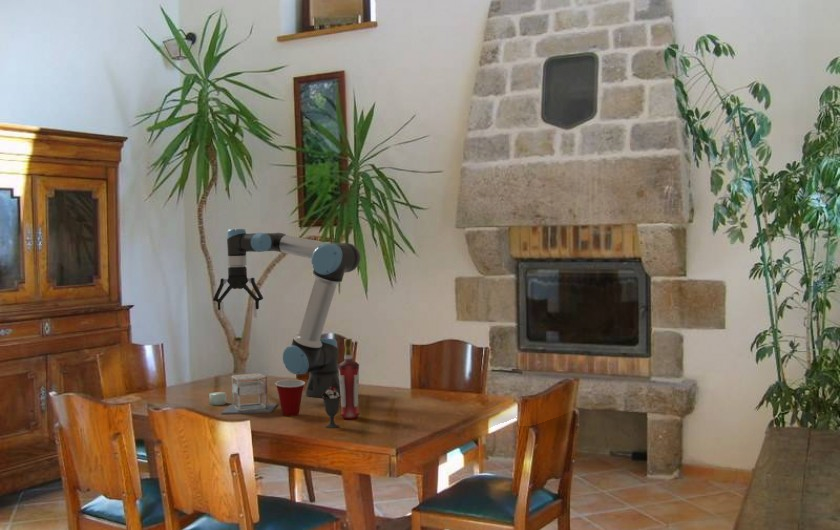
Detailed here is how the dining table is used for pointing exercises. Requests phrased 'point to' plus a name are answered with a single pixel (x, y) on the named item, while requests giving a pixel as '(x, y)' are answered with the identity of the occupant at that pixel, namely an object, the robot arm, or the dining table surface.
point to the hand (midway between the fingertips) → (238, 317)
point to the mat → (233, 411)
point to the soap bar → (217, 398)
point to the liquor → (349, 383)
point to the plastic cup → (290, 396)
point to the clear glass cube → (249, 390)
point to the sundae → (331, 405)
